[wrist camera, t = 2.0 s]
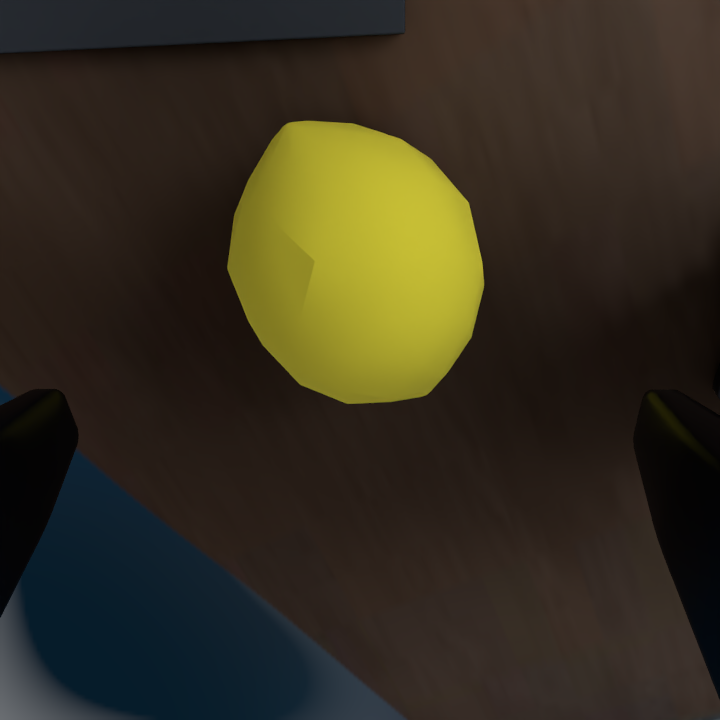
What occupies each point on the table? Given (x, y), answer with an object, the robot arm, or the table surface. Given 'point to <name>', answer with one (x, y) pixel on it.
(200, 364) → the table surface
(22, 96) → the table surface
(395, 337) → the lemon
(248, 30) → the desk mat
